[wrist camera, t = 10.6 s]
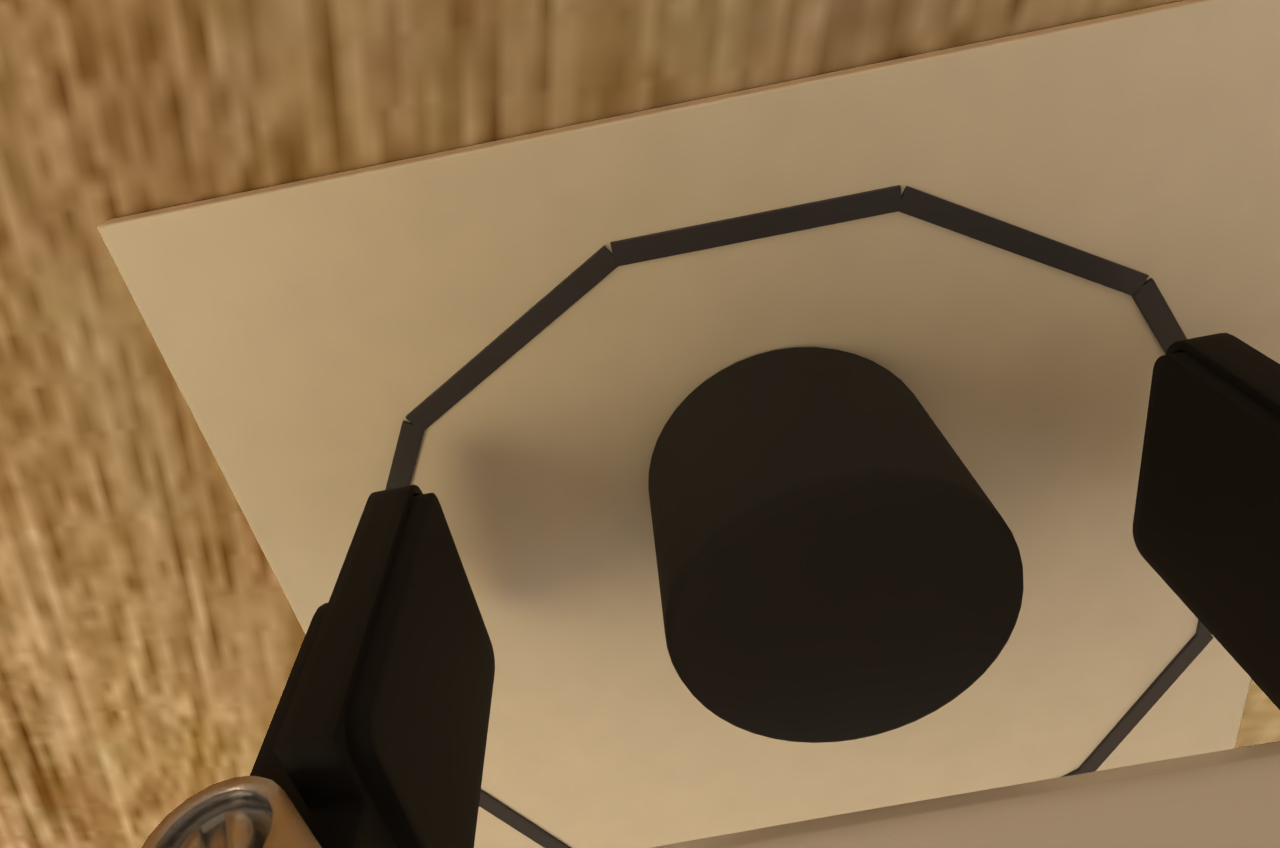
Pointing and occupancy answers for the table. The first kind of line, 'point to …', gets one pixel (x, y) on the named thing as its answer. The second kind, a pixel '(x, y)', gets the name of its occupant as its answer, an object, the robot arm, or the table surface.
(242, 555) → the table surface
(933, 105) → the face card
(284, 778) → the robot arm
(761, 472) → the eye dot
